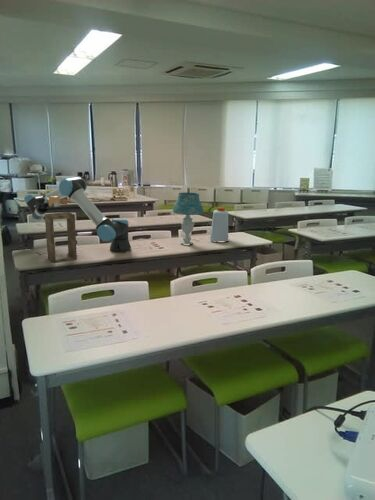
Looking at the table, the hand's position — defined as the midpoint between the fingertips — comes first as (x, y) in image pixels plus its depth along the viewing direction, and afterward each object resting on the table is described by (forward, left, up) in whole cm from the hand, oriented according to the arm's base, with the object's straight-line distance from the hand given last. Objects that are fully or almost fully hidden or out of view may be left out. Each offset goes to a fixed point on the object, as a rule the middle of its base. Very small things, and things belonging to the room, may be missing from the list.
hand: (49, 197), depth 248 cm
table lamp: (-96, +29, -39) cm, 108 cm away
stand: (0, +18, -39) cm, 42 cm away
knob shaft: (0, +2, -4) cm, 5 cm away
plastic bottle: (-126, +34, -39) cm, 137 cm away
